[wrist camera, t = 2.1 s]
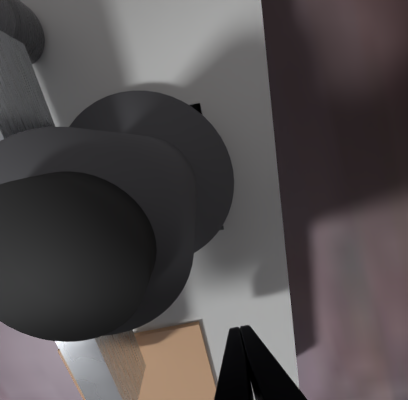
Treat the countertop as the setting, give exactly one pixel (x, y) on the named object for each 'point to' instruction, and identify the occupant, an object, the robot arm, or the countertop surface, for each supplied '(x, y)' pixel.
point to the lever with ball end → (41, 117)
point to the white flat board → (234, 141)
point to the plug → (107, 215)
